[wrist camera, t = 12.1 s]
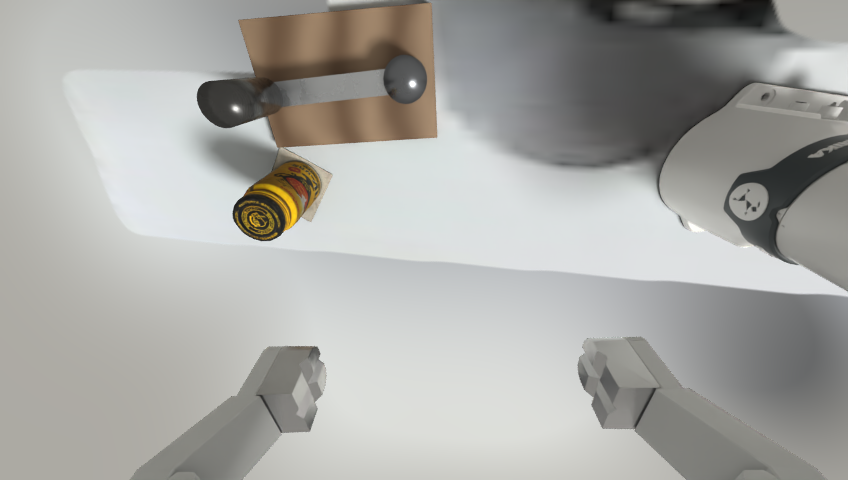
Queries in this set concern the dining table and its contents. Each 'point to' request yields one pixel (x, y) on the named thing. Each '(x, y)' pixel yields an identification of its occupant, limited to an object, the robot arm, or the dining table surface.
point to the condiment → (281, 197)
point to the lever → (308, 91)
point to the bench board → (345, 71)
